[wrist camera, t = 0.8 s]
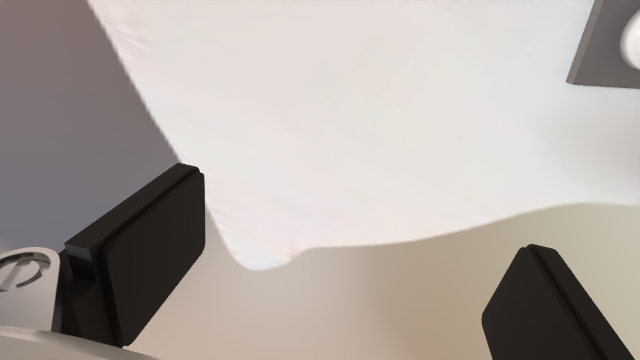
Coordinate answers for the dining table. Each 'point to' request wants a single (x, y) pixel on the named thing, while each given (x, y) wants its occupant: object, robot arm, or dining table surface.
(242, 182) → the dining table surface
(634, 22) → the dome
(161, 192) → the robot arm
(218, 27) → the dining table surface
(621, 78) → the dome base
